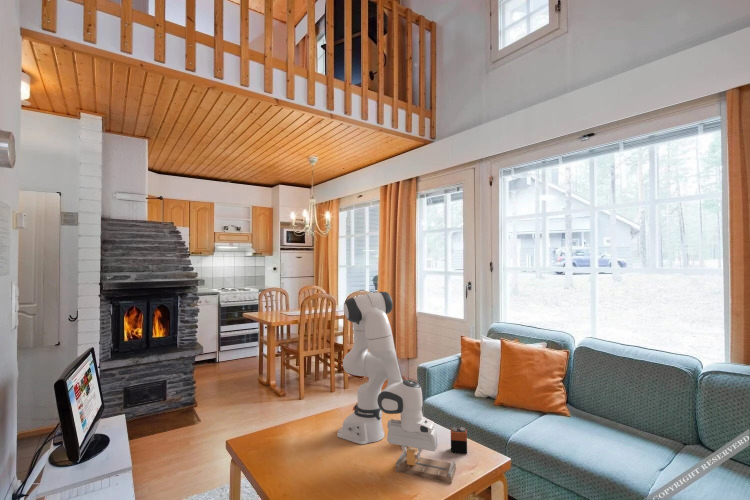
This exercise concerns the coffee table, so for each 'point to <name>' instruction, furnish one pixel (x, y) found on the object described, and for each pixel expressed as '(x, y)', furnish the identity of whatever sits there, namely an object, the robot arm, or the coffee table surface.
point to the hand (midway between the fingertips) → (412, 457)
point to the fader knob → (411, 456)
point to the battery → (458, 440)
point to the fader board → (427, 468)
